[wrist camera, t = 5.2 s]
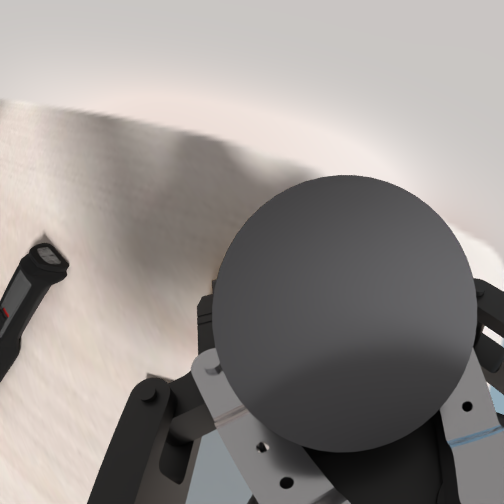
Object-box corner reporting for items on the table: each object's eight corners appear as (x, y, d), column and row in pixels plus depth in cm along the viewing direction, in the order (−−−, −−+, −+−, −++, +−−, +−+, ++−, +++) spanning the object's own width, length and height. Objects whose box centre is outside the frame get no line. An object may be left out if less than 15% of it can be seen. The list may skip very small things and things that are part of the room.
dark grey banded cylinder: (245, 362, 17) (182, 434, 4) (259, 285, 19) (237, 151, 5) (323, 373, 17) (457, 450, 4) (335, 296, 18) (477, 200, 5)
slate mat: (138, 492, 15) (135, 496, 15) (151, 381, 17) (147, 382, 17) (267, 522, 14) (266, 527, 14) (294, 410, 17) (295, 413, 16)
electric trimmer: (-18, 374, 18) (-42, 375, 15) (51, 242, 21) (26, 229, 18) (1, 405, 17) (-23, 409, 14) (75, 270, 20) (49, 260, 17)
